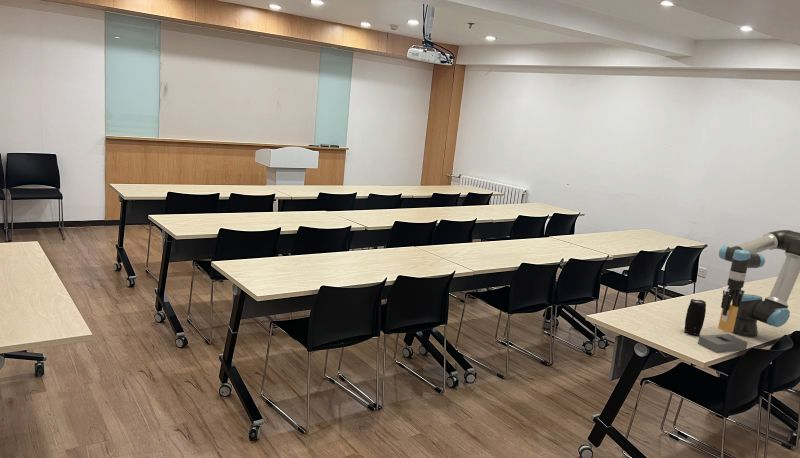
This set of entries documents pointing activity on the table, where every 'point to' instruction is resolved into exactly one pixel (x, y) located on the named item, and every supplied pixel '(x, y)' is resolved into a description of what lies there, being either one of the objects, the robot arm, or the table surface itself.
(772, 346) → the table surface
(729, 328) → the plug
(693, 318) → the portable speaker
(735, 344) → the grey slotted base
